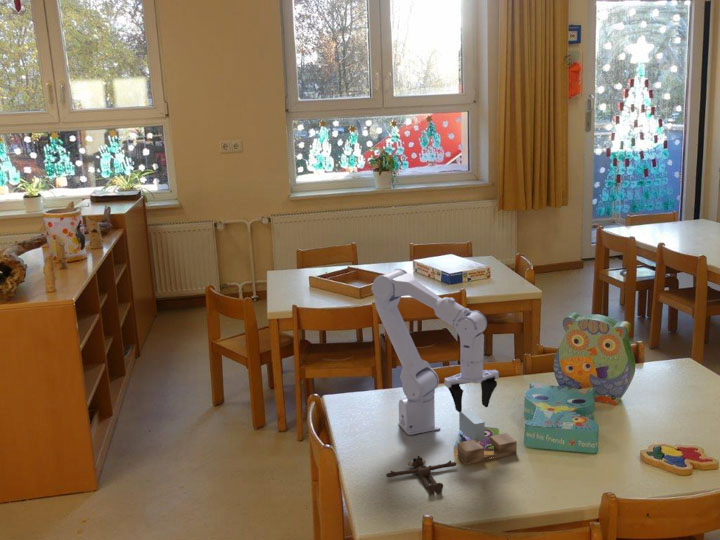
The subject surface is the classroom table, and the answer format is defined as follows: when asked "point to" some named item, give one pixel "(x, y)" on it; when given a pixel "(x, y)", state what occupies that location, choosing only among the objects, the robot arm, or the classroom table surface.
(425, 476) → the brown monkey toy
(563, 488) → the classroom table surface
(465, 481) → the classroom table surface
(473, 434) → the pale grey-blue block
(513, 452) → the brown u-shaped block
